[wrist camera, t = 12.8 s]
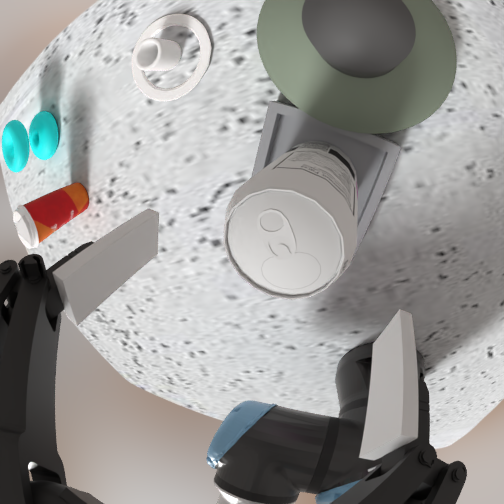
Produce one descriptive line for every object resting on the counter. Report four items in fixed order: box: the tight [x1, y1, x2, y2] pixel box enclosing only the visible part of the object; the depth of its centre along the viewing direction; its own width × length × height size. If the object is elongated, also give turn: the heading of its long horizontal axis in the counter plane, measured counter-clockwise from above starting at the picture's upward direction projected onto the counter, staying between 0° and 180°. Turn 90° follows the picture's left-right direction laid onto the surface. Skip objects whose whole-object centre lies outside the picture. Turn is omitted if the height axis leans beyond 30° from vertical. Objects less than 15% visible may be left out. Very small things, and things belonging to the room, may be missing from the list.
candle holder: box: [132, 14, 211, 101], centre depth 25 cm, size 12×12×4 cm
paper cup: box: [13, 183, 89, 248], centre depth 38 cm, size 8×8×14 cm
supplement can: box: [223, 141, 358, 300], centre depth 21 cm, size 8×8×15 cm
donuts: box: [2, 111, 58, 172], centre depth 35 cm, size 10×10×10 cm
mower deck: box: [252, 0, 456, 259], centre depth 19 cm, size 18×30×9 cm, turn 167°
